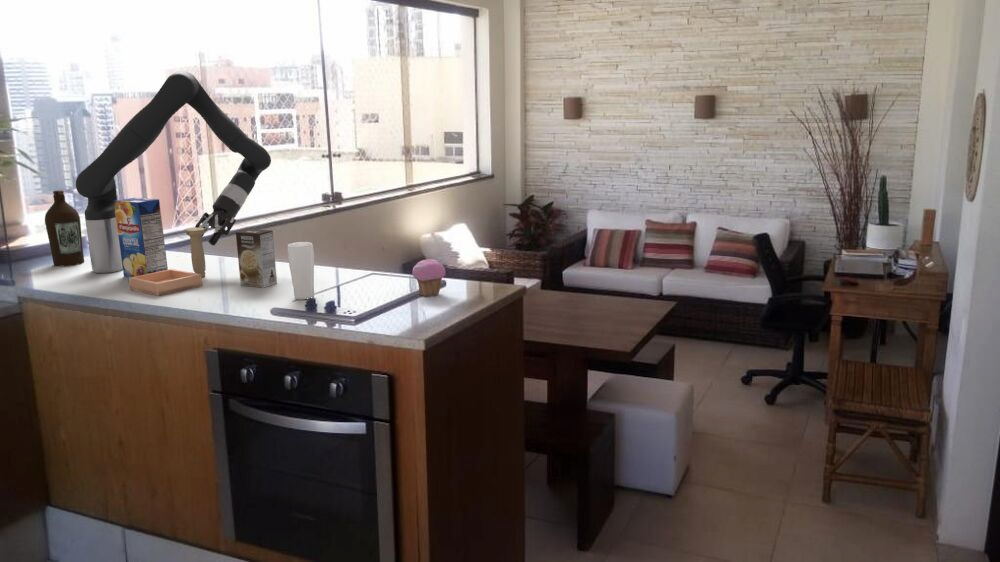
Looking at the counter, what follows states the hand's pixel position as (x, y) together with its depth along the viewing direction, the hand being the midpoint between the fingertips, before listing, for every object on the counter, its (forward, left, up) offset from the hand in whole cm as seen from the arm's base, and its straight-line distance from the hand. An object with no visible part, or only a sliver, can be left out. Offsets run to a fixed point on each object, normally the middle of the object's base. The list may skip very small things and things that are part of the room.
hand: (202, 242), depth 254 cm
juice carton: (-17, -10, -11) cm, 22 cm away
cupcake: (+78, +17, -11) cm, 81 cm away
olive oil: (-60, -13, -11) cm, 62 cm away
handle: (0, -2, -11) cm, 11 cm away
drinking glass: (+50, -3, -11) cm, 51 cm away
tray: (+4, -16, -10) cm, 20 cm away
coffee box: (+25, +1, -11) cm, 27 cm away
